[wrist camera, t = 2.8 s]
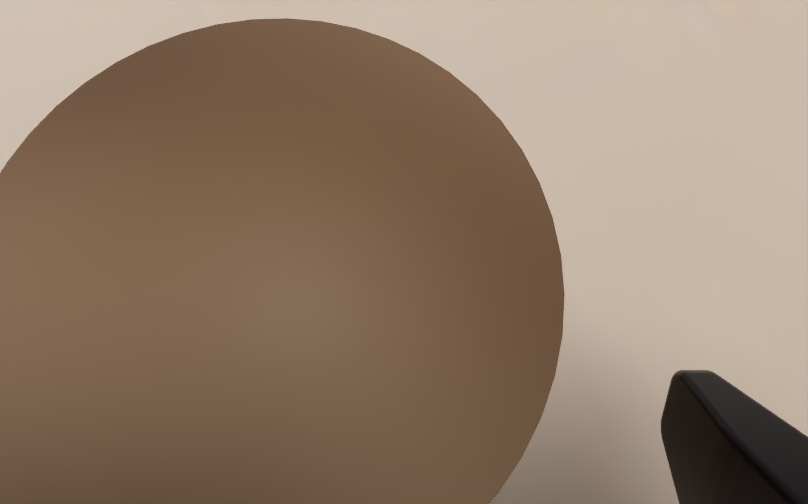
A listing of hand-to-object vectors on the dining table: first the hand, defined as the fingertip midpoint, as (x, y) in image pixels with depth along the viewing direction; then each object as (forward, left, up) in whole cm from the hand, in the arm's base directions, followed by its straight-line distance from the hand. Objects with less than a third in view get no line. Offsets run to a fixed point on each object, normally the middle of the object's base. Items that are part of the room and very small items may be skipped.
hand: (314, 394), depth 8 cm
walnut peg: (+1, 0, -9) cm, 9 cm away
